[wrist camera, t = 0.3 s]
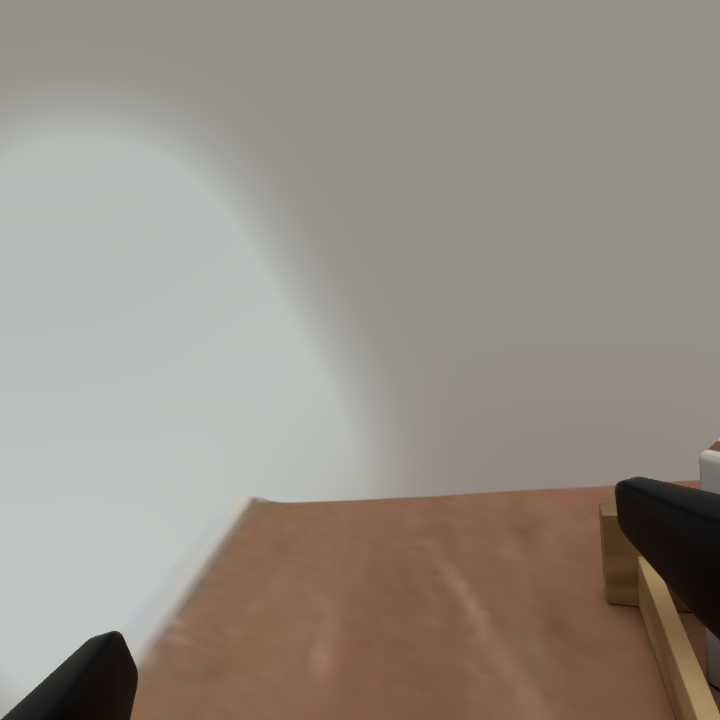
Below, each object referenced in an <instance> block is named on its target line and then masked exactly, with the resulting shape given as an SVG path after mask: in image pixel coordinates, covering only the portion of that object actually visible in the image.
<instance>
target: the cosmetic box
mask: <svg viewBox="0 0 720 720" xmlns="http://www.w3.org/2000/svg"><path fill="white" fill-rule="evenodd" d="M699 466H700V483H701V490H704V491H708V492H713V493H717V494H720V439H719V440H717V441H716V442H715V443H714V444H713V445H711V447H709V448H708V449H707V450H705V451H704V452H703V453H702V454H700V456H699ZM706 667H707V679H708V681H709V682H710V683H711V684H713V685H714V686H716V687H717V688H719V689H720V641H719V640H718V639H717V638H716V637H715V636H714V635H713V634H712V633H711V632H710V631H709V630H708V629H707V628H706Z"/></svg>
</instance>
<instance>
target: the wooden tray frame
mask: <svg viewBox="0 0 720 720" xmlns="http://www.w3.org/2000/svg"><path fill="white" fill-rule="evenodd" d="M599 516H600V532H601V547H602V562H603V577H604V590H605V594H606V598H607V602H608V603H612V604H622V605H631V606H639V608H640V611H641V614H642V617H643V620H644V623H645V626H646V629H647V632H648V635H649V638H650V641H651V644H652V647H653V650H654V654H655V657H656V660H657V663H658V666H659V669H660V672H661V675H662V678H663V681H664V684H665V687H666V690H667V693H668V696H669V699H670V702H671V705H672V708H673V712H674V715H675V718H676V720H720V712H719V710H718V707H717V705H716V703H715V700H714V698H713V695H712V693H711V691H710V688H709V686H708V684H707V681H706V679H705V676H704V674H703V672H702V669H701V667H700V664H699V662H698V660H697V657H696V655H695V653H694V650H693V648H692V645H691V643H690V641H689V638H688V636H687V633H686V631H685V629H684V626H683V624H682V622H681V619H680V617H679V614H678V612H677V611H686V612H691V611H690V610H689V609H688V608H687V607H686V606H685V605H684V603H683V602H682V601H681V600H680V599H679V598H678V597H677V596H676V594H675V593H674V592H673V591H672V590H671V589H670V587H669V586H668V585H667V584H666V583H665V582H664V581H663V579H662V578H661V577H660V576H659V575H658V574H657V572H656V571H655V570H654V569H653V568H652V567H651V565H650V564H649V563H648V562H647V561H646V560H645V558H644V557H643V556H642V555H641V554H640V553H639V551H638V550H637V549H636V548H635V547H634V546H633V545H632V543H631V542H630V541H629V540H628V539H627V538H626V536H625V535H624V534H623V532H622V531H621V529H620V527H619V524H618V520H617V509H616V504H599Z"/></svg>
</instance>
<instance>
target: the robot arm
mask: <svg viewBox="0 0 720 720" xmlns="http://www.w3.org/2000/svg"><path fill="white" fill-rule="evenodd" d="M615 497H616V509H617V520H618V524H619V527H620V529H621V531H622V532H623V534H624V535H625V536H626V538H627V539H628V540H629V541H630V542H631V543H632V545H633V546H634V547H635V548H636V549H637V550H638V551H639V553H640V554H641V555H642V556H643V557H644V558H645V560H646V561H647V562H648V563H649V564H650V565H651V567H652V568H653V569H654V570H655V571H656V572H657V574H658V575H659V576H660V577H661V578H662V579H663V581H664V582H665V583H666V584H667V585H668V586H669V587H670V589H671V590H672V591H673V592H674V593H675V594H676V596H677V597H678V598H679V599H680V600H681V601H682V602H683V603H684V605H685V606H686V607H687V608H688V609H689V610H690V611H691V612H692V613H693V614H694V615H695V616H696V617H697V618H698V619H699V621H700V622H701V623H702V624H703V625H704V626H705V627H706V628H707V629H708V630H709V631H710V632H711V633H712V634H713V635H714V636H715V637H716V638H717V639H718V640H719V641H720V494H717V493H713V492H708V491H704V490H699V489H694V488H690V487H685V486H681V485H676V484H671V483H667V482H662V481H658V480H653V479H648V478H644V477H633V478H630V479H627V480H623V481H620V482H619V483H617V484H616V487H615ZM137 683H138V673H137V668H136V665H135V663H134V660H133V658H132V656H131V654H130V651H129V649H128V647H127V644H126V642H125V640H124V638H123V636H122V634H121V633H120V632H118V631H112V632H108V633H105V634H102V635H98V636H95V637H93V638H91V639H89V640H88V641H86V642H85V643H84V644H83V645H82V646H81V647H80V648H79V649H78V650H77V651H75V652H74V653H73V654H72V655H71V656H70V657H69V658H68V659H67V660H66V661H65V662H64V663H62V664H61V665H60V666H59V667H58V668H57V669H56V670H55V671H54V672H52V673H51V674H50V675H49V676H48V677H47V678H46V679H45V680H44V681H43V682H42V683H41V684H39V685H38V686H37V687H36V688H35V689H34V690H33V691H32V692H31V693H29V694H28V695H27V696H26V697H25V698H24V699H23V700H22V701H21V702H20V703H19V704H17V706H15V707H14V708H13V709H12V710H11V711H10V712H9V713H8V714H6V715H5V716H4V717H3V718H2V719H1V720H130V717H131V712H132V707H133V703H134V698H135V694H136V689H137Z"/></svg>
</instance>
